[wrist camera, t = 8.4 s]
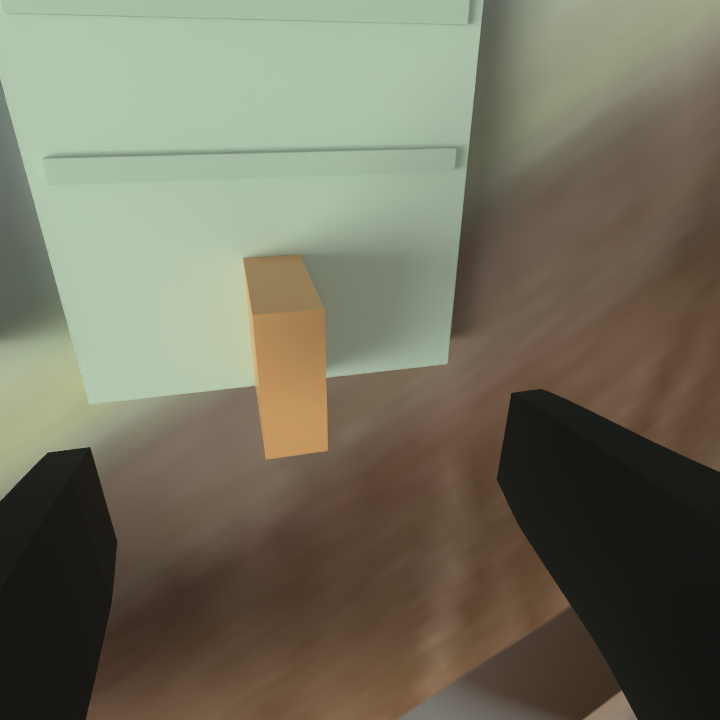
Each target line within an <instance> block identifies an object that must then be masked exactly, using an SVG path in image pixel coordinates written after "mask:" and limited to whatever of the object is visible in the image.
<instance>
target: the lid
mask: <svg viewBox="0 0 720 720" xmlns="http://www.w3.org/2000/svg"><path fill="white" fill-rule="evenodd" d="M483 1H484V0H0V80H1V83H2V87H3V91H4V94H5V98H6V102H7V105H8V109H9V113H10V116H11V120H12V124H13V127H14V131H15V135H16V138H17V142H18V146H19V149H20V153H21V157H22V160H23V164H24V167H25V171H26V175H27V178H28V182H29V186H30V189H31V193H32V197H33V200H34V204H35V208H36V211H37V215H38V219H39V222H40V226H41V230H42V233H43V237H44V241H45V244H46V248H47V252H48V255H49V259H50V262H51V266H52V270H53V273H54V277H55V281H56V284H57V288H58V292H59V295H60V299H61V303H62V306H63V310H64V314H65V317H66V321H67V325H68V328H69V332H70V336H71V339H72V343H73V347H74V350H75V354H76V357H77V361H78V365H79V368H80V372H81V376H82V379H83V383H84V387H85V390H86V394H87V398H88V401H89V404H97V403H106V402H115V401H124V400H133V399H142V398H151V397H159V396H168V395H177V394H186V393H195V392H204V391H213V390H221V389H230V388H239V387H248V386H256V393H257V400H258V407H259V414H260V421H261V428H262V435H263V443H264V450H265V457H266V459H273V458H280V457H287V456H294V455H301V454H309V453H316V452H323V451H328V431H327V388H326V378H328V377H336V376H345V375H354V374H363V373H372V372H381V371H390V370H398V369H407V368H416V367H425V366H434V365H443V364H447V362H448V352H449V342H450V332H451V322H452V312H453V302H454V292H455V282H456V272H457V262H458V252H459V242H460V232H461V222H462V212H463V202H464V192H465V182H466V172H467V162H468V152H469V142H470V132H471V122H472V112H473V102H474V92H475V82H476V72H477V62H478V52H479V42H480V32H481V21H482V11H483Z"/></svg>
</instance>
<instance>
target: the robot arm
mask: <svg viewBox="0 0 720 720" xmlns="http://www.w3.org/2000/svg"><path fill="white" fill-rule="evenodd" d="M497 480H498V483H499V485H500V487H501V489H502V491H503V494H504V496H505V498H506V500H507V502H508V504H509V507H510V508H511V510H512V512H513V514H514V516H515V518H516V520H517V522H518V524H519V526H520V528H521V530H522V531H523V533H524V534H525V536H526V538H527V539H528V541H529V542H530V544H531V545H532V547H533V548H534V550H535V551H536V553H537V555H538V556H539V558H540V559H541V561H542V562H543V564H544V565H545V567H546V568H547V570H548V571H549V573H550V574H551V576H552V577H553V579H554V580H555V582H556V583H557V585H558V586H559V588H560V590H561V591H562V593H563V594H564V596H565V597H566V599H567V600H568V602H569V603H570V605H571V606H572V608H573V609H574V611H575V612H576V614H577V615H578V617H579V618H580V620H581V621H582V623H583V624H584V626H585V627H586V629H587V630H588V631H589V633H590V635H591V636H592V638H593V640H594V641H595V643H596V645H597V646H598V648H599V650H600V651H601V653H602V655H603V656H604V658H605V660H606V661H607V663H608V665H609V667H610V668H611V671H612V672H613V674H614V676H615V678H616V680H617V682H618V684H619V685H620V687H621V689H622V691H623V693H624V695H625V697H626V699H627V700H628V702H629V704H630V706H631V708H632V710H633V712H634V714H635V715H636V717H637V719H638V720H720V472H718V471H716V470H714V469H711V468H709V467H707V466H705V465H702V464H700V463H698V462H695V461H693V460H691V459H689V458H686V457H684V456H682V455H680V454H678V453H676V452H674V451H671V450H669V449H667V448H665V447H663V446H661V445H659V444H657V443H654V442H652V441H650V440H648V439H646V438H644V437H642V436H640V435H638V434H636V433H634V432H632V431H630V430H628V429H626V428H624V427H622V426H620V425H618V424H616V423H614V422H612V421H610V420H608V419H606V418H604V417H602V416H600V415H598V414H596V413H594V412H592V411H590V410H587V409H585V408H583V407H581V406H579V405H577V404H575V403H573V402H571V401H569V400H567V399H564V398H562V397H560V396H558V395H555V394H553V393H551V392H548V391H545V390H543V389H538V390H530V391H522V392H515V393H511V399H510V405H509V411H508V417H507V423H506V429H505V434H504V440H503V446H502V452H501V458H500V464H499V470H498V476H497ZM116 549H117V539H116V536H115V532H114V529H113V525H112V522H111V518H110V515H109V511H108V508H107V504H106V501H105V497H104V494H103V490H102V487H101V483H100V480H99V476H98V473H97V469H96V466H95V462H94V459H93V455H92V452H91V448H90V447H88V448H80V449H72V450H64V451H57V452H49V453H47V454H46V455H45V456H44V457H43V458H42V459H41V460H40V461H39V462H38V463H37V464H36V465H35V466H34V467H33V468H32V469H31V470H30V471H29V472H28V473H27V474H26V475H25V476H24V477H23V478H22V479H21V480H20V481H19V482H18V483H17V484H16V485H15V487H14V488H13V489H12V490H11V491H10V492H9V493H8V494H7V495H6V496H5V497H4V498H3V499H2V500H1V501H0V720H86V716H87V711H88V707H89V703H90V698H91V694H92V689H93V685H94V680H95V676H96V671H97V667H98V662H99V658H100V654H101V649H102V644H103V640H104V635H105V631H106V626H107V621H108V617H109V612H110V607H111V602H112V593H113V583H114V573H115V561H116Z"/></svg>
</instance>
